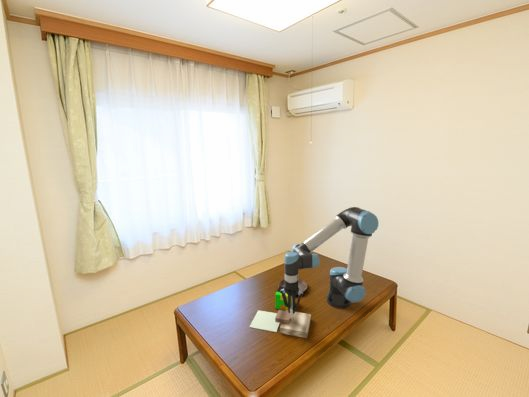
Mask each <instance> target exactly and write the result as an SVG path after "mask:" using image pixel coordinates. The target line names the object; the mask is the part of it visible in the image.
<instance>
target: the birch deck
mask: <svg viewBox="0 0 529 397" xmlns="http://www.w3.org/2000/svg"><path fill="white" fill-rule="evenodd" d="M285 311H287V310H285ZM311 320H312V314H311V313H305V312H299V311H295V314H294V317H293V319H291V320H290V323H289V324H284V323H280V325H279V334H283V335H288V336H289V335H290V336H293V337H300V338H305V339H308V335H309V332H310V331H309V330H310V326H311V322H312V321H311Z"/></svg>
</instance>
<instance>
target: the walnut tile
mask: <svg viewBox="0 0 529 397" xmlns="http://www.w3.org/2000/svg"><path fill="white" fill-rule="evenodd" d="M277 310H278V311H277V315H276V317H275V322H278V323H280V324H281V323H284V324H289V323H290V320H291V319H290V313H288V311H286V310H281V309H277Z"/></svg>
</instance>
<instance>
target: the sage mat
mask: <svg viewBox="0 0 529 397" xmlns="http://www.w3.org/2000/svg"><path fill="white" fill-rule="evenodd" d="M277 313H278V312H277ZM277 313H276V312H271V311H264V310H259V309H258V310H257V311H256V314H255V316H254V317H253V319H252V321H251V323H250V325H249V328H250V329H251V328H252V329H256V330H261V331H267V332H270V333H272V332H273V333H277V332H278V329H279V328H280V325H281V323H278V322H275V317H276V315H277Z"/></svg>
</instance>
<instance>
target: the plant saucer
mask: <svg viewBox="0 0 529 397" xmlns="http://www.w3.org/2000/svg"><path fill="white" fill-rule="evenodd" d="M279 286H280V287H285V278H284V279H282V280H280V281H279V283H278V287H279ZM298 288H299V291H301V292H303V293H304V292H305V291H306V290H307V289H308V284H307V282H306V281H305V280H303V279H301V278H298ZM298 294H299V293H297V294H296V296H297V295H298ZM298 296H299V295H298Z"/></svg>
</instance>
